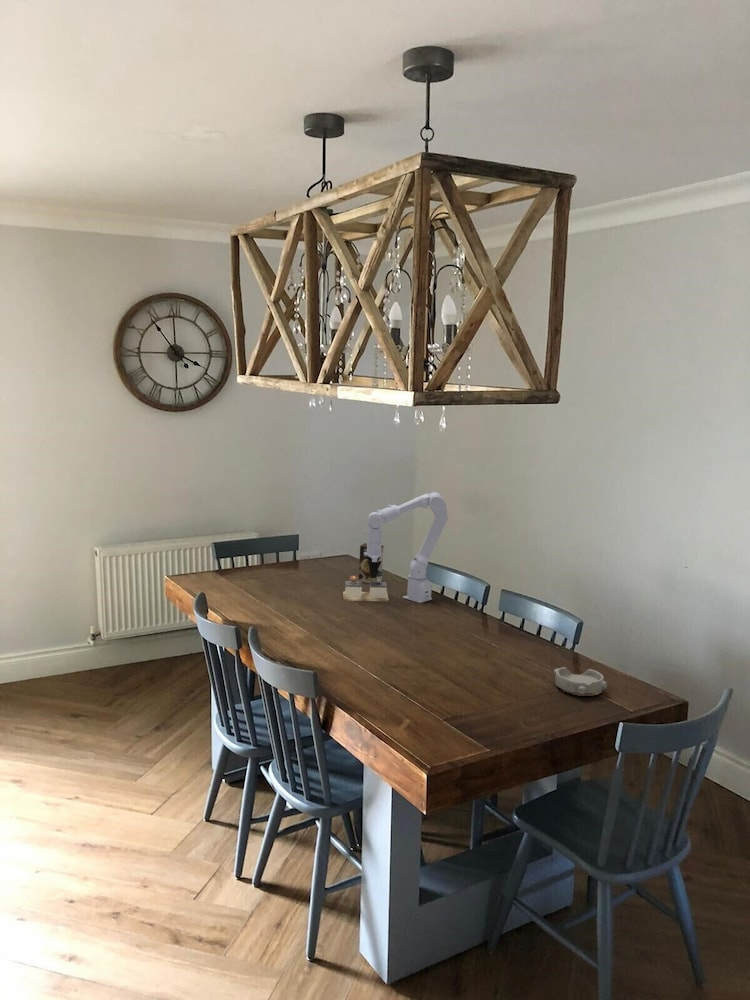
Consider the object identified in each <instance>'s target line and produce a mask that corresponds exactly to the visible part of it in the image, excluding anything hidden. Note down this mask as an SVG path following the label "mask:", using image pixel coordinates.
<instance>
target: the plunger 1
mask: <svg viewBox="0 0 750 1000" xmlns="http://www.w3.org/2000/svg"><path fill="white" fill-rule="evenodd" d="M349 581H353V584H355V582H356V581H359V575H358V576H357V575H350V576H349Z"/></svg>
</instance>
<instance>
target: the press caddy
mask: <svg viewBox="0 0 750 1000" xmlns="http://www.w3.org/2000/svg"><path fill="white" fill-rule="evenodd" d="M344 583H345V590H344V592H345V597H355V598H361V597H362V592H363V591H362V590H363V582H362V581H359V580H358V581H356V582H355V584H353V581H350V580H345V582H344ZM387 584H388V583H387V581H381V582H380V584H377V582H371V581H370V583H369V592H370V598H386V595H388V592H387V591H388V590H387V589H388V585H387Z"/></svg>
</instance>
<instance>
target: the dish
mask: <svg viewBox="0 0 750 1000" xmlns="http://www.w3.org/2000/svg"><path fill="white" fill-rule="evenodd" d="M553 675H554V676H555V686H556V685H557V686H558V687H560V688H562V689H564V690H567V691H570V692H576V693H580V694H584V693H596V692H600V691H602V690H603V689H604V690H606V689H607V686H608V683H607V681H605V678H604V675H603V674H602V673H601V672H599V671H597V670H595V669H592V668H588V669H587V670H585V671H584V672H583V673H581V674H574V673H572V672H571V671H570V670H568V668H567V667H566V666H562V667H560V668H559V667H558V668H555V669H554V670H553ZM557 686H556V687H557ZM604 690H603V691H604Z"/></svg>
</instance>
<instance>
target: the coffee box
mask: <svg viewBox="0 0 750 1000" xmlns="http://www.w3.org/2000/svg"><path fill="white" fill-rule="evenodd" d="M384 546H385V545H383V544H381V556H380V558H379V560H378V561H381V564H380V566H379V569H378V570H382V571H383V564H384V563H383V560H384ZM364 552H367V542H366V543H362V544H361V545H360V547H359V564H358V565H359V566H358V581H362V583H366V584H370V581H371V582H377V577H378V576H377V577H376V578H371V575H370V569H369V565H368V563H367V560H368V559H367V557H366V555H364ZM382 580H383V576H380V582H383V581H382Z"/></svg>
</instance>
